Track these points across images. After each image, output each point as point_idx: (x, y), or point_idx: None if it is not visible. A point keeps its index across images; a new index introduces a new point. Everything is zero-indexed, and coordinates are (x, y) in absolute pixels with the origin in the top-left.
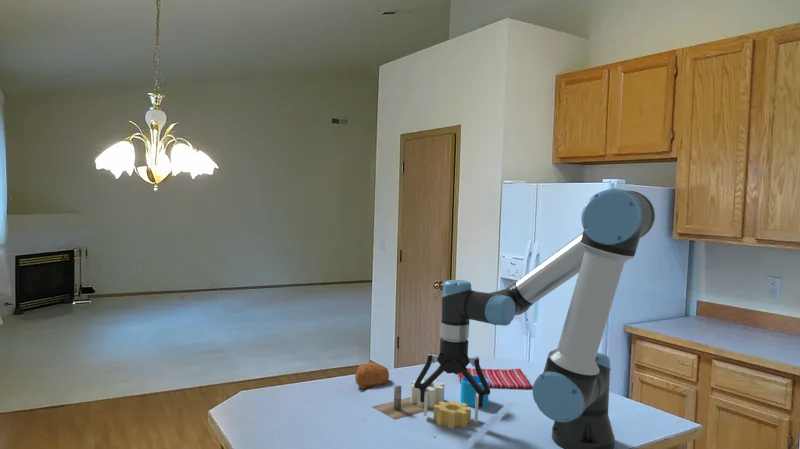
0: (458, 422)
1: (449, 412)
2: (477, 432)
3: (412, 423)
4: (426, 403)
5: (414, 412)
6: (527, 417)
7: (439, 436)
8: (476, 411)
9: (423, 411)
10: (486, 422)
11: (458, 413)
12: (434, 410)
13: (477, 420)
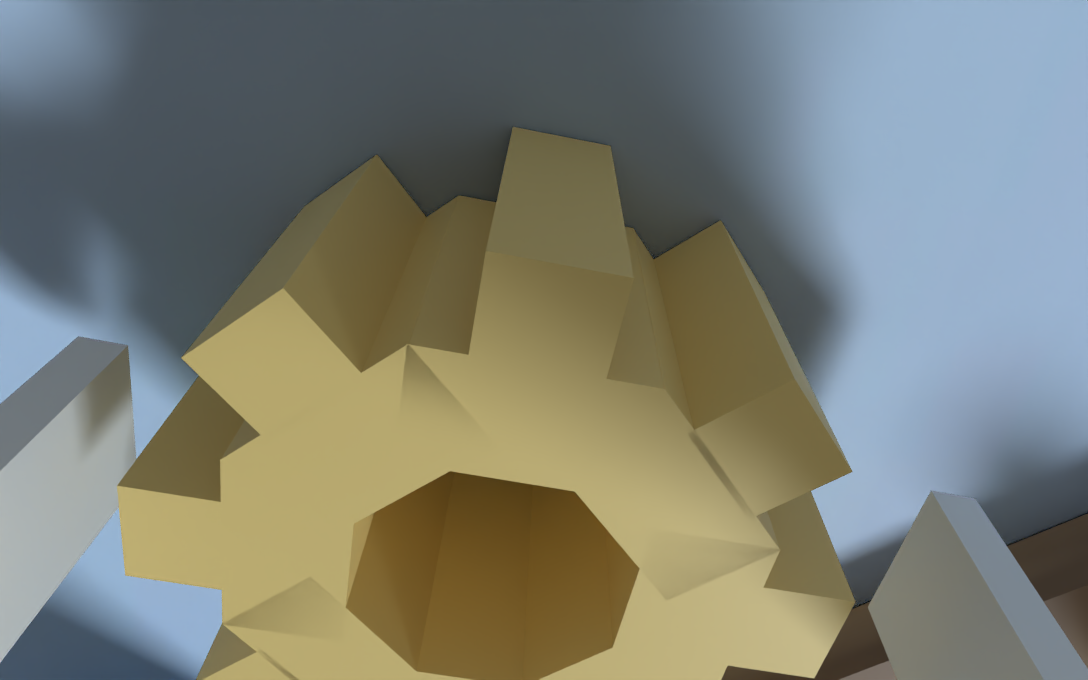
0: (418, 264)
1: (597, 358)
2: (139, 168)
3: (1044, 458)
4: (1043, 667)
5: None
6: None
7: (786, 8)
8: (3, 436)
9: (851, 676)
10: None
11: (391, 348)
12: (826, 551)
13: (78, 340)
